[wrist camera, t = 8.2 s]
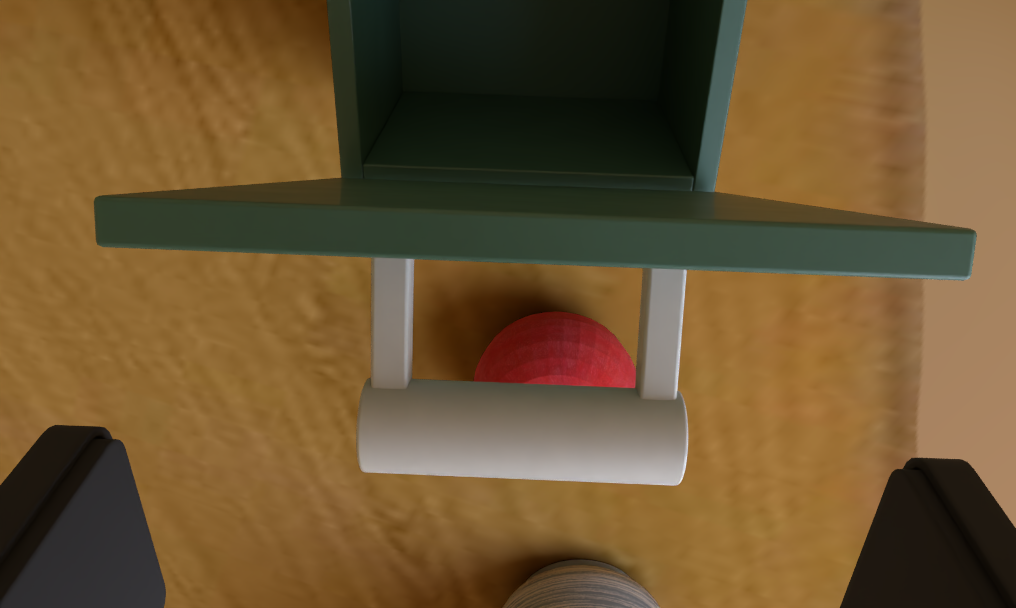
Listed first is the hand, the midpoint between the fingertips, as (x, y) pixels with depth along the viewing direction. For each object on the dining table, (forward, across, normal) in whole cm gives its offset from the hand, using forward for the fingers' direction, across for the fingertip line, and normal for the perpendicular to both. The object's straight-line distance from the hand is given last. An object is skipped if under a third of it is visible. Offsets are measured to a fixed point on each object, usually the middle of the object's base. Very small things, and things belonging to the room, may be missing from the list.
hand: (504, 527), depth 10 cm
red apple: (+30, -3, +18) cm, 35 cm away
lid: (+12, 0, 0) cm, 12 cm away
